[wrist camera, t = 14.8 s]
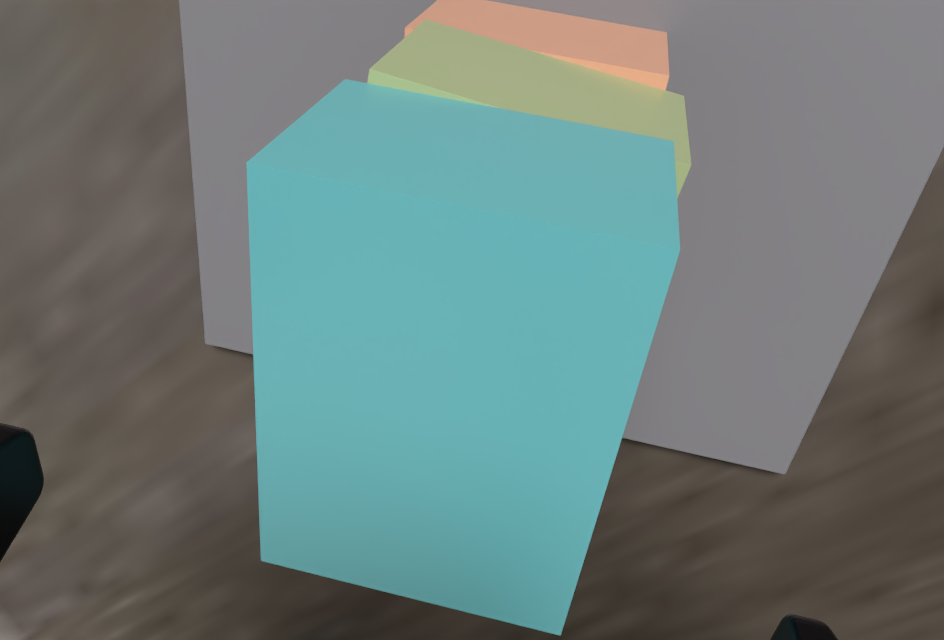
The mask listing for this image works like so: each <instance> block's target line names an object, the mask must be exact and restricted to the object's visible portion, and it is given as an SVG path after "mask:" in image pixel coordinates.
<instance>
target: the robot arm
mask: <svg viewBox="0 0 944 640" xmlns="http://www.w3.org/2000/svg"><path fill="white" fill-rule="evenodd" d="M43 481H44V477H43V472H42V468H41V464H40V460H39V456H38V452H37V448H36V444H35V440H34V437H33V435H32V434H31V433H30V432H29V431H28V430H26V429H23V428H19V427H15V426H11V425H7V424H2V423H0V562H1V560H2V558H3V557H4V555H5V553H6V552H7V550H8V548H9V547H10V545H11V543H12V542H13V540H14V538H15V537H16V535H17V533H18V532H19V530H20V528H21V527H22V525H23V523H24V522H25V520H26V518H27V517H28V515H29V513H30V512H31V510H32V508H33V507H34V505H35V503H36V502H37V500H38V498H39V496H40V494H41V491H42V488H43ZM770 640H838V639H837V638H836V636H835V635H834V633H833V632H832V630H831V629H830V628H829V627H828V626H827V625H826V624H825V623H823V622H821V621H818V620H815V619H810V618H806V617H802V616H798V615H794V614H789V615H786V616H785V617H784V618H783V619H782V620H781V622H780V623H779V625H778V627H777V629H776V631H775V632H774V634H773V636H772V638H771V639H770Z"/></svg>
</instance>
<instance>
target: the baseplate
mask: <svg viewBox="0 0 944 640" xmlns="http://www.w3.org/2000/svg"><path fill="white" fill-rule="evenodd" d="M436 1H437V0H179V6H180V19H181V32H182V45H183V59H184V72H185V85H186V98H187V111H188V124H189V137H190V150H191V163H192V176H193V189H194V202H195V215H196V228H197V241H198V254H199V267H200V280H201V293H202V306H203V319H204V332H205V344H209V345H214V346H218V347H223V348H227V349H231V350H236V351H240V352H245V353H249V354H253V330H252V302H251V275H250V248H249V220H248V193H247V165H246V162H248V161H249V160H250V159H251V158H252V157H254V156H255V155H256V154H257V153H258V152H259V151H261V150H262V149H263V148H264V147H265V146H267V145H268V144H269V143H270V142H271V141H272V140H274V139H275V138H276V137H277V136H278V135H280V134H281V133H282V132H283V131H284V130H285V129H287V128H288V127H289V126H290V125H291V124H293V123H294V122H295V121H296V120H297V119H298V118H300V117H301V116H302V115H303V114H304V113H306V112H307V111H308V110H309V109H310V108H311V107H313V106H314V105H315V104H316V103H317V102H319V101H320V100H321V99H322V98H323V97H325V96H326V95H327V94H328V93H329V92H330V91H332V90H333V89H334V88H335V87H336V86H338V85H339V84H340V83H341V82H342V81H343V80H345V79H348V80H353V81H359V82H364V83H367V82H368V75H369V69H370V68H371V67H372V66H373V65H374V64H376V63H377V62H378V61H379V60H380V59H381V58H382V57H383V56H385V55H386V54H387V53H388V52H389V51H390V50H391V49H393V48H394V47H395V46H396V45H397V44H398V43H399V42H400V41H402V40H403V39H404V35H405V27H406V26H407V25H409V24H410V23H411V22H412V21H413V20H414V19H416V18H417V17H418V16H419V15H420V14H422V13H423V12H424V11H425V10H426V9H428V8H429V7H430V6H431V5H432V4H433V3H435V2H436ZM487 1H493V2H499V3H504V4H510V5H515V6H521V7H527V8H532V9H538V10H544V11H549V12H555V13H561V14H566V15H572V16H577V17H583V18H589V19H594V20H600V21H606V22H611V23H617V24H623V25H628V26H634V27H639V28H645V29H651V30H656V31H662V32H667V42H668V59H669V79H668V83H667V87H666V91H670V92H673V93H676V94H680V95H683V96H684V100H685V109H686V118H687V128H688V137H689V147H690V156H691V167H690V170H689V172H688V174H687V177H686V179H685V182H684V184H683V186H682V189H681V191H680V193H679V196H678V198H677V203H678V220H679V237H680V252H679V256H678V259H677V262H676V265H675V269H674V272H673V275H672V278H671V281H670V285H669V288H668V291H667V294H666V298H665V301H664V304H663V307H662V310H661V314H660V317H659V320H658V323H657V327H656V330H655V333H654V336H653V339H652V343H651V346H650V349H649V352H648V356H647V359H646V362H645V365H644V368H643V372H642V375H641V378H640V381H639V385H638V388H637V391H636V394H635V397H634V401H633V404H632V407H631V410H630V414H629V417H628V420H627V423H626V426H625V430H624V433H623V436H622V438H626V439H630V440H634V441H639V442H643V443H648V444H652V445H657V446H661V447H665V448H670V449H674V450H679V451H683V452H688V453H692V454H696V455H701V456H705V457H710V458H714V459H719V460H723V461H727V462H732V463H736V464H741V465H745V466H750V467H754V468H758V469H763V470H767V471H772V472H776V473H781V474H785V473H786V471H787V469H788V467H789V465H790V463H791V461H792V459H793V457H794V455H795V453H796V451H797V449H798V447H799V445H800V442H801V440H802V438H803V436H804V434H805V432H806V430H807V428H808V426H809V424H810V422H811V420H812V418H813V416H814V414H815V411H816V409H817V407H818V405H819V403H820V401H821V399H822V397H823V395H824V393H825V391H826V389H827V387H828V385H829V382H830V380H831V378H832V376H833V374H834V372H835V370H836V368H837V366H838V364H839V362H840V360H841V358H842V356H843V354H844V351H845V349H846V347H847V345H848V343H849V341H850V339H851V337H852V335H853V333H854V331H855V329H856V327H857V325H858V323H859V320H860V318H861V316H862V314H863V312H864V310H865V308H866V306H867V304H868V302H869V300H870V298H871V296H872V294H873V291H874V289H875V287H876V285H877V283H878V281H879V279H880V277H881V275H882V273H883V271H884V269H885V267H886V265H887V263H888V260H889V258H890V256H891V254H892V252H893V250H894V248H895V246H896V244H897V242H898V240H899V238H900V236H901V234H902V232H903V229H904V227H905V225H906V223H907V221H908V219H909V217H910V215H911V213H912V211H913V209H914V207H915V205H916V203H917V201H918V198H919V196H920V194H921V192H922V190H923V188H924V186H925V184H926V182H927V180H928V178H929V176H930V174H931V172H932V169H933V167H934V165H935V163H936V161H937V159H938V157H939V155H940V153H941V151H942V149H943V147H944V0H487Z"/></svg>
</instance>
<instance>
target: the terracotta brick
mask: <svg viewBox="0 0 944 640" xmlns="http://www.w3.org/2000/svg"><path fill="white" fill-rule="evenodd" d="M425 19H427V20H430V21H433V22H437V23H440V24H443V25H447V26H450V27H454V28H457V29H460V30H464V31H467V32H470V33H474V34H477V35H481V36H484V37H487V38H491V39H494V40H497V41H501V42H504V43H508V44H511V45H514V46H518V47H521V48H524V49H528V50H531V51H534V52H538V53H541V54H545V55H548V56H551V57H555V58H558V59H561V60H565V61H568V62H572V63H575V64H578V65H582V66H585V67H588V68H592V69H595V70H599V71H602V72H605V73H609V74H612V75H615V76H619V77H622V78H626V79H629V80H632V81H636V82H639V83H642V84H646V85H649V86H653V87H656V88H659V89H663V90H666V87H667V83H668V79H669V59H668V42H667V32H662V31H656V30H651V29H645V28H639V27H634V26H628V25H623V24H617V23H611V22H606V21H600V20H594V19H589V18H583V17H577V16H572V15H566V14H561V13H555V12H549V11H544V10H538V9H532V8H527V7H521V6H515V5H510V4H504V3H499V2H493V1H487V0H437V1H436V2H435V3H433V4H432V5H431V6H430V7H429V8H428V9H426V10H425V11H424V12H423V13H422V14H420V15H419V16H418V17H417V18H416V19H414V20H413V21H412V22H411V23H410V24H409V25H407V26H406V27H405V35H404V38H405V37H406V36H407V35H408V34H410V33H411V32H412V31H413V30H414V29H415V28H416V27H417V26H419V25H420V24H421V23H422V22H423V21H424V20H425Z"/></svg>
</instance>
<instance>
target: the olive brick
mask: <svg viewBox="0 0 944 640" xmlns="http://www.w3.org/2000/svg"><path fill="white" fill-rule="evenodd" d="M367 83H369V84H374V85H380V86H385V87H390V88H396V89H401V90H406V91H412V92H417V93H422V94H427V95H433V96H438V97H443V98H449V99H454V100H459V101H465V102H470V103H475V104H481V105H486V106H491V107H496V108H502V109H507V110H512V111H518V112H523V113H528V114H534V115H539V116H544V117H549V118H555V119H560V120H565V121H571V122H576V123H581V124H587V125H592V126H597V127H602V128H608V129H613V130H618V131H624V132H629V133H634V134H640V135H645V136H650V137H655V138H661V139H666V140H671V141H674V153H675V170H676V186H677V198H678V196H679V193H680V191H681V189H682V186H683V184H684V182H685V179H686V177H687V174H688V172H689V170H690V167H691V156H690V147H689V137H688V128H687V118H686V109H685V100H684V96H683V95H680V94H676V93H673V92H670V91H666V90H663V89H659V88H656V87H653V86H649V85H646V84H642V83H639V82H636V81H632V80H629V79H626V78H622V77H619V76H615V75H612V74H609V73H605V72H602V71H599V70H595V69H592V68H588V67H585V66H582V65H578V64H575V63H572V62H568V61H565V60H561V59H558V58H555V57H551V56H548V55H545V54H541V53H538V52H534V51H531V50H528V49H524V48H521V47H518V46H514V45H511V44H508V43H504V42H501V41H497V40H494V39H491V38H487V37H484V36H481V35H477V34H474V33H470V32H467V31H464V30H460V29H457V28H454V27H450V26H447V25H443V24H440V23H437V22H433V21H430V20H427V19H425V20H424V21H423V22H422V23H421V24H420V25H419V26H417V27H416V28H415V29H414V30H413V31H412V32H411V33H410V34H408V35H407V36H406V37H405V38H404V39H403V40H402V41H400V42H399V43H398V44H397V45H396V46H395V47H394V48H393V49H391V50H390V51H389V52H388V53H387V54H386V55H385V56H383V57H382V58H381V59H380V60H379V61H378V62H377V63H376V64H374V65H373V66H372V67H371V68H370V69H369V75H368V82H367Z"/></svg>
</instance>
